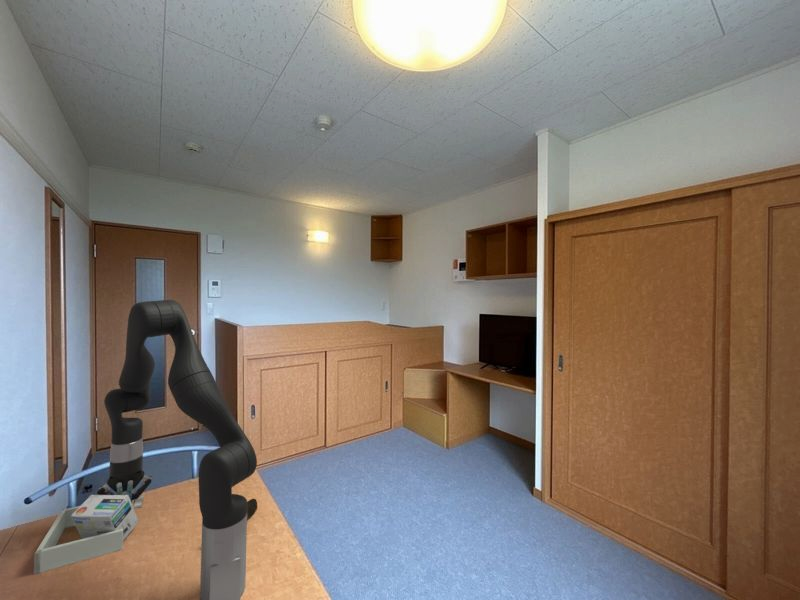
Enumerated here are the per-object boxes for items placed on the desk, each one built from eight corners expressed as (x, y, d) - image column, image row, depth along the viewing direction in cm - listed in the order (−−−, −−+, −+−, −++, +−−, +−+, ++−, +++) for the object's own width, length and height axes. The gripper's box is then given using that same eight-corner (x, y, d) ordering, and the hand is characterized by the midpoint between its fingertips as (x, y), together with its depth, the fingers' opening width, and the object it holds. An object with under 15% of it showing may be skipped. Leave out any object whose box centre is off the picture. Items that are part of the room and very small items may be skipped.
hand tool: (213, 552, 89) (213, 535, 90) (201, 548, 91) (202, 531, 91) (263, 512, 107) (264, 497, 107) (253, 509, 109) (254, 495, 109)
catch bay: (121, 549, 90) (122, 530, 90) (33, 574, 81) (34, 553, 81) (133, 510, 107) (133, 494, 107) (61, 527, 98) (62, 509, 98)
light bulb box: (139, 520, 98) (129, 493, 94) (121, 544, 91) (110, 516, 88) (102, 520, 98) (91, 493, 94) (82, 544, 91) (69, 516, 88)
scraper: (141, 507, 108) (141, 501, 108) (82, 521, 101) (83, 515, 101) (143, 498, 113) (143, 492, 113) (88, 510, 106) (88, 504, 106)
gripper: (93, 466, 92) (91, 530, 92) (153, 455, 99) (151, 515, 99) (100, 455, 98) (98, 514, 98) (155, 446, 105) (154, 501, 105)
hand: (125, 514), depth 98 cm, fingers closed
